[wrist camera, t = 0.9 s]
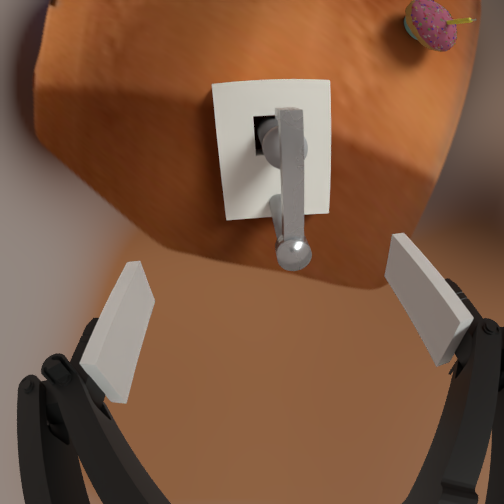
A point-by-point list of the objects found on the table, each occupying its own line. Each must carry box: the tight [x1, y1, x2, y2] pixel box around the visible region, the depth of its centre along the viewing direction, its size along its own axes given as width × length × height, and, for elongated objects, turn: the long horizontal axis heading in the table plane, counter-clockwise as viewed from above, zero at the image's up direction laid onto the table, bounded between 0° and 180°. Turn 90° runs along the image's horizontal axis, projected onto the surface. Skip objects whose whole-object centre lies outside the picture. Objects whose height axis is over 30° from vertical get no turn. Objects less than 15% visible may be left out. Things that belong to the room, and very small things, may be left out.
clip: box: [275, 107, 312, 271], centre depth 25 cm, size 15×3×4 cm, turn 4°
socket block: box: [212, 79, 331, 239], centre depth 31 cm, size 18×14×15 cm
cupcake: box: [404, 0, 476, 52], centre depth 21 cm, size 9×8×12 cm
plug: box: [257, 116, 308, 169], centre depth 31 cm, size 4×4×12 cm
